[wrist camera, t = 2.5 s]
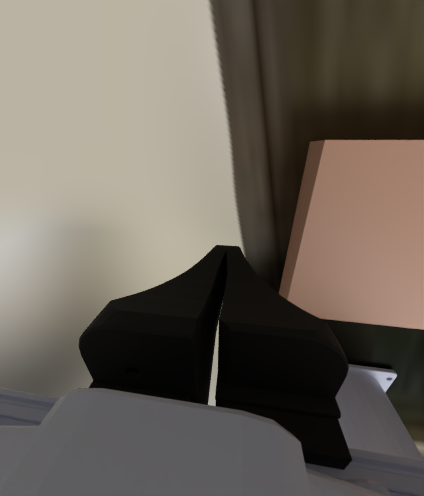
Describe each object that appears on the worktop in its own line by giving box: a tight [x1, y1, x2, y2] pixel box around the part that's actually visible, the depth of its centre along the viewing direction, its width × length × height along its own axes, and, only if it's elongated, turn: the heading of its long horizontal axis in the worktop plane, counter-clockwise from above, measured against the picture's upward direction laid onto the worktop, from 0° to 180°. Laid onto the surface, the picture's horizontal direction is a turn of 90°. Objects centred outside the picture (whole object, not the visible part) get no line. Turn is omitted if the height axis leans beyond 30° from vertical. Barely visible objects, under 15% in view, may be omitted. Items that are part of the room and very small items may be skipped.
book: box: [279, 140, 424, 329], centre depth 13 cm, size 12×15×3 cm
